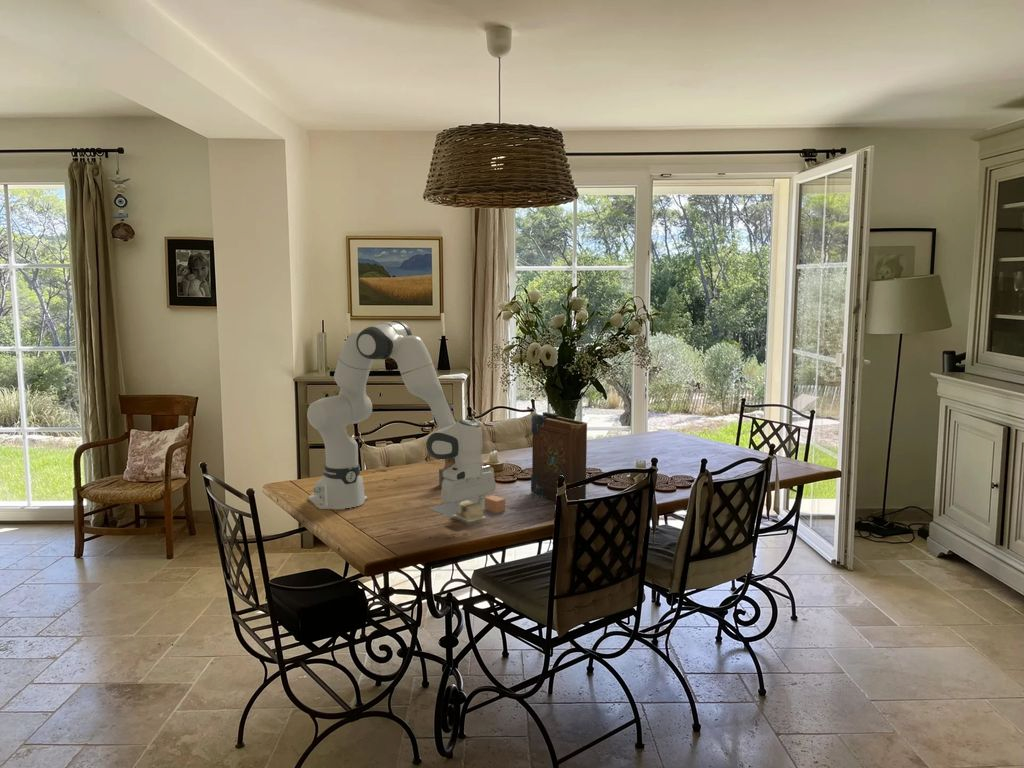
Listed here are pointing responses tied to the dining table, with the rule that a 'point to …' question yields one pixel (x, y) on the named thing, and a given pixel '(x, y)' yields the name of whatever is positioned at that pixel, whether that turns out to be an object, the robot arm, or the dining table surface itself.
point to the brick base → (471, 510)
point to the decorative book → (558, 455)
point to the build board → (450, 511)
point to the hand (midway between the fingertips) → (469, 510)
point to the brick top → (495, 504)
